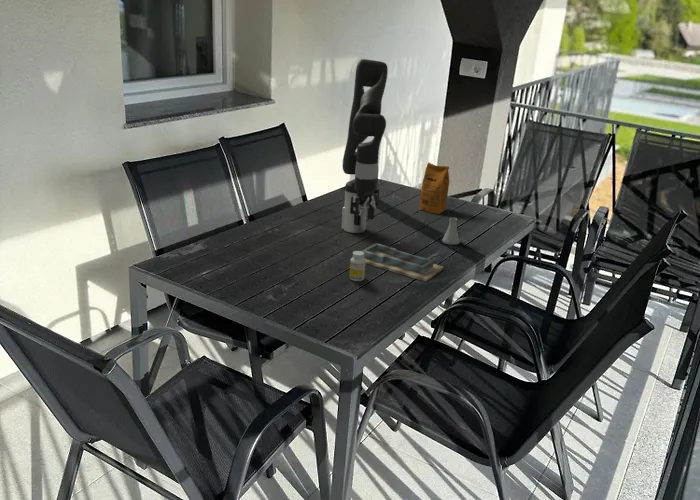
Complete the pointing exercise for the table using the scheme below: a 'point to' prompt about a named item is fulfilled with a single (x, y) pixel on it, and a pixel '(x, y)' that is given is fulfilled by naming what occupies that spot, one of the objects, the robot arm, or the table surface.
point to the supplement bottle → (357, 266)
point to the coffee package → (434, 189)
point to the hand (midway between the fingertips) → (363, 222)
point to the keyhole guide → (401, 262)
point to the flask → (451, 233)
